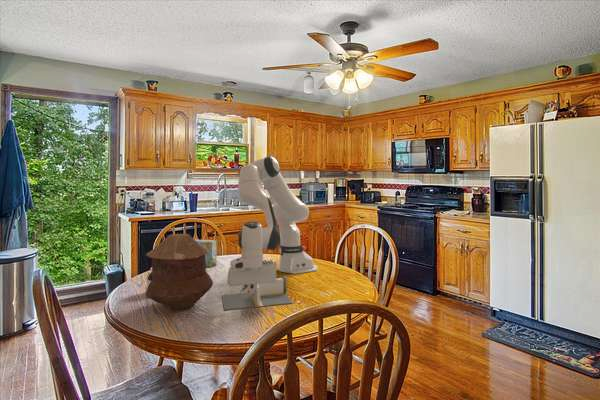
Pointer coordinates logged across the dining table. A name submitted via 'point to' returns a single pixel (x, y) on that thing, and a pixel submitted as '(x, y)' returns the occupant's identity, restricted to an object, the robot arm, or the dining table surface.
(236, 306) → the card
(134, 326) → the dining table surface
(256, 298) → the hinged panel
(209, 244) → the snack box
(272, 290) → the block
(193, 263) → the pottery vessel
